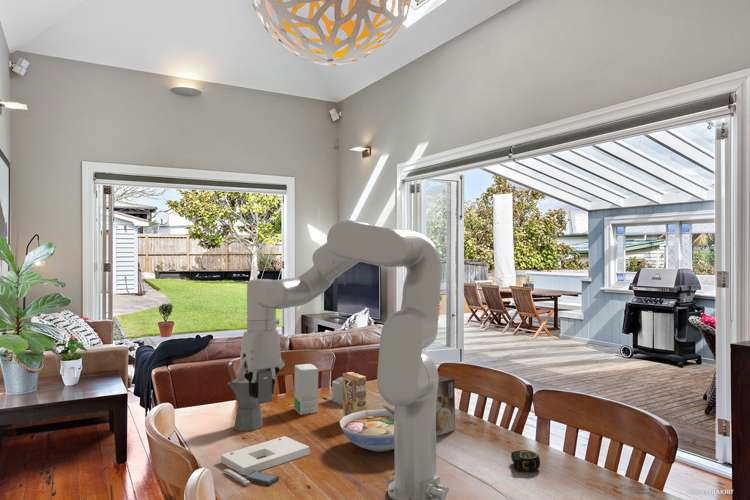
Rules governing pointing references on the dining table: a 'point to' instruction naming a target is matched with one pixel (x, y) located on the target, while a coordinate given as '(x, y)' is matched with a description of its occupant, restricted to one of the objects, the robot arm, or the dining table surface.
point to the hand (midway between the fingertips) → (261, 394)
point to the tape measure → (525, 460)
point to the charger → (263, 387)
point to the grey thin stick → (237, 476)
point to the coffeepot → (245, 407)
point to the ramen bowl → (370, 429)
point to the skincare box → (306, 389)
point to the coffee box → (445, 405)
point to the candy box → (354, 393)
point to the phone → (262, 478)
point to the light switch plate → (273, 450)
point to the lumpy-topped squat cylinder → (339, 390)
